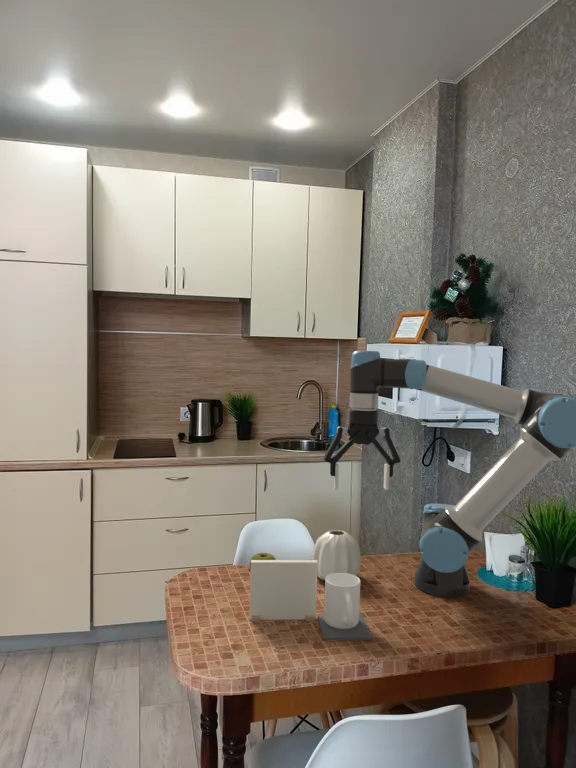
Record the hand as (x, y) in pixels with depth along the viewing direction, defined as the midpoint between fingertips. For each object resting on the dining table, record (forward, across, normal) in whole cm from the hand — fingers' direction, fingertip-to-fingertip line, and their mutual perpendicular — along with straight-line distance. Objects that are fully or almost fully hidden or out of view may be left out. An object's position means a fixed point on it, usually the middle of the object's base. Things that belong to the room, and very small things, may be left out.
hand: (360, 488), depth 151 cm
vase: (+29, +4, -11) cm, 31 cm away
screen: (+29, +21, +14) cm, 38 cm away
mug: (+28, +7, +19) cm, 35 cm away
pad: (+29, +7, +19) cm, 35 cm away
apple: (+29, +25, -10) cm, 39 cm away
